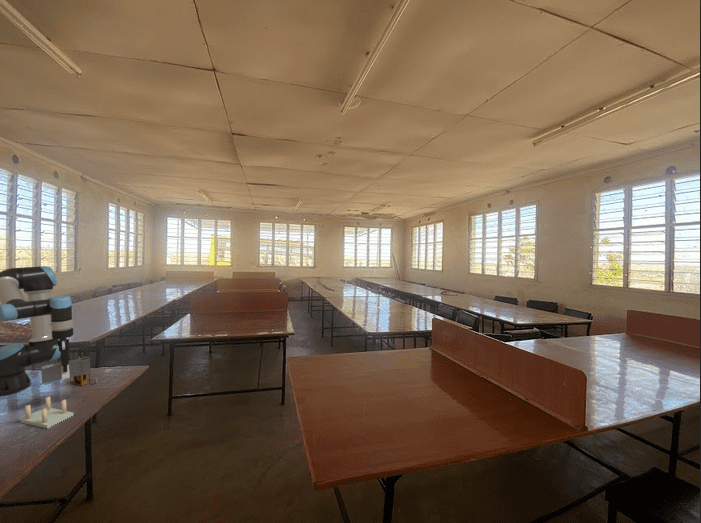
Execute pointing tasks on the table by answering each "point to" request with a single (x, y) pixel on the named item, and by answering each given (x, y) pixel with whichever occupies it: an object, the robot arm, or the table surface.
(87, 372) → the long grey bar
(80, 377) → the multimeter
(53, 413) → the peg rack
